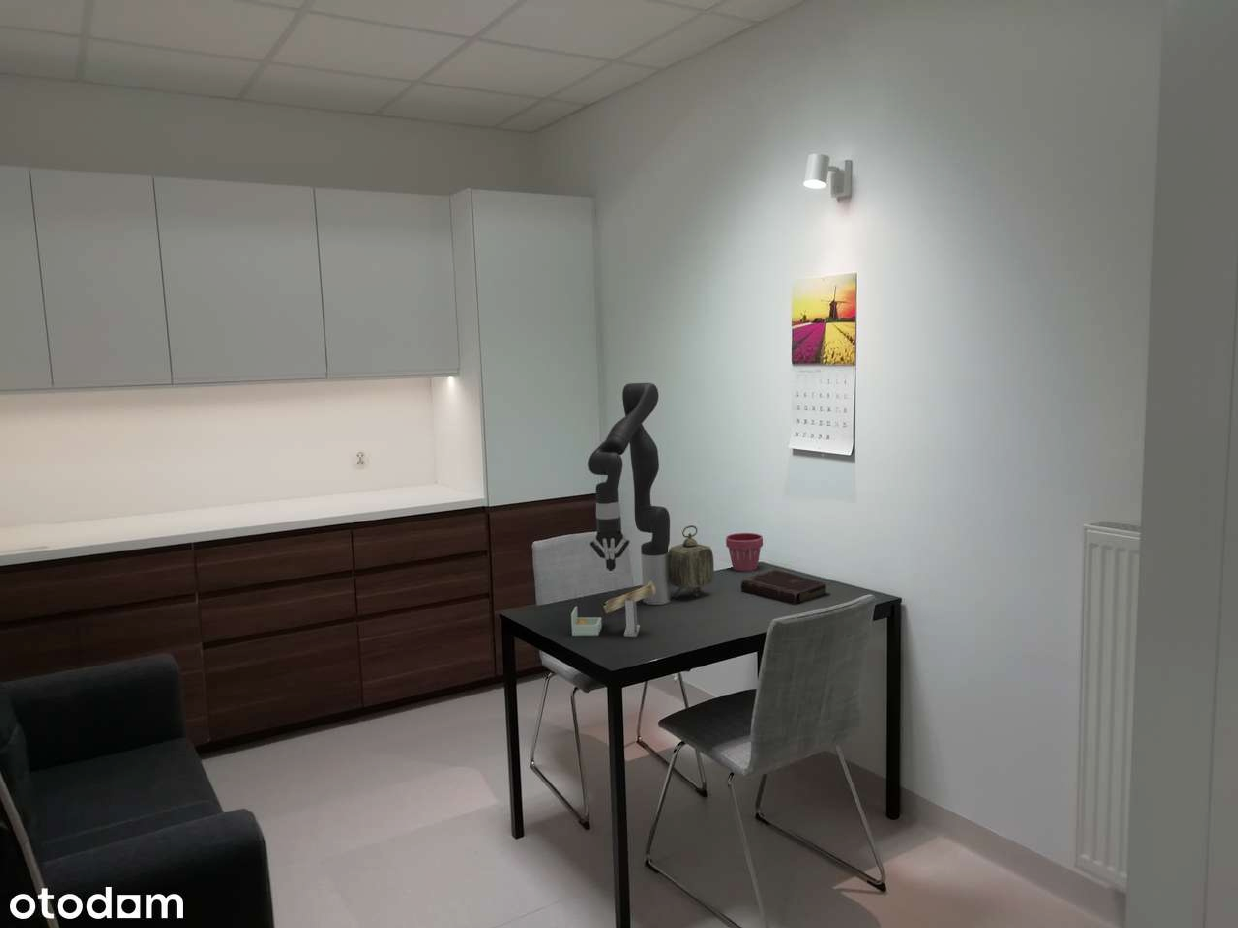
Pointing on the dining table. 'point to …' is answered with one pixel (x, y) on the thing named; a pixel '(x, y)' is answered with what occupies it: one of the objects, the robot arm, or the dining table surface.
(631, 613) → the fulcrum
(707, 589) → the dining table surface
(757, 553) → the plant pot
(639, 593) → the lever
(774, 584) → the diary
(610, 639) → the dining table surface
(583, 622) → the ball
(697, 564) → the tabletop clock
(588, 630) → the pale green cubby shelf
